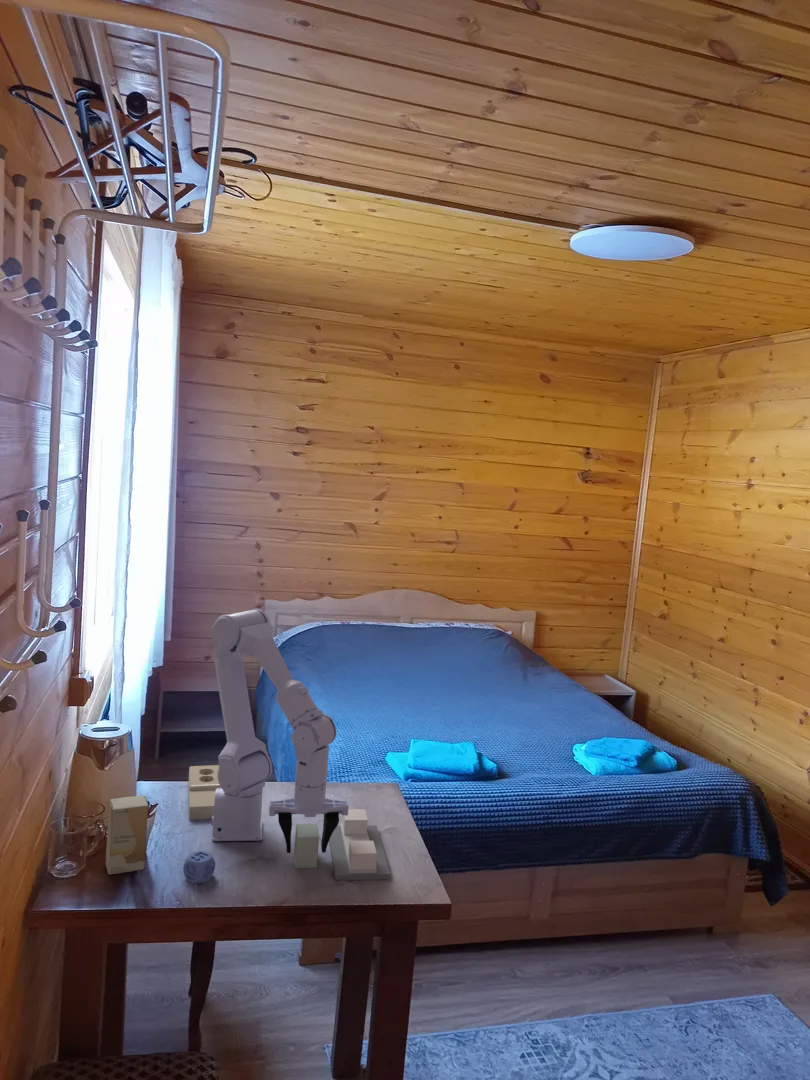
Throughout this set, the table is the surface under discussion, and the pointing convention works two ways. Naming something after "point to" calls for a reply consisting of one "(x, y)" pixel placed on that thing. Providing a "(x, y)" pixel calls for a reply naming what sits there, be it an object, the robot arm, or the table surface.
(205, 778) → the electrical outlet
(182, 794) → the table surface
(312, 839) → the block
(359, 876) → the rail board
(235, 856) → the table surface
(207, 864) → the decorative dice
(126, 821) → the skincare box
